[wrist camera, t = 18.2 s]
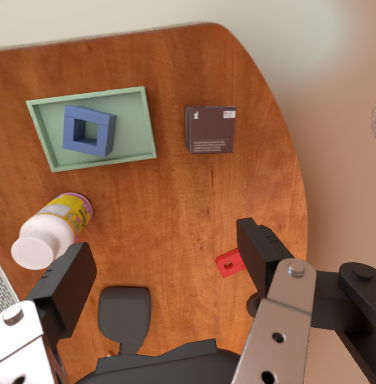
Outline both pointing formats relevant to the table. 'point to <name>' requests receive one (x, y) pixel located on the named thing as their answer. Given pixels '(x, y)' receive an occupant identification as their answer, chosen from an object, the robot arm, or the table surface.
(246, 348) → the robot arm
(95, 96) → the tray
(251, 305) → the dowel stand
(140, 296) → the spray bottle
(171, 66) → the table surface
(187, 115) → the box
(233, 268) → the bracket
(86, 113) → the holed block
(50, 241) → the supplement bottle
